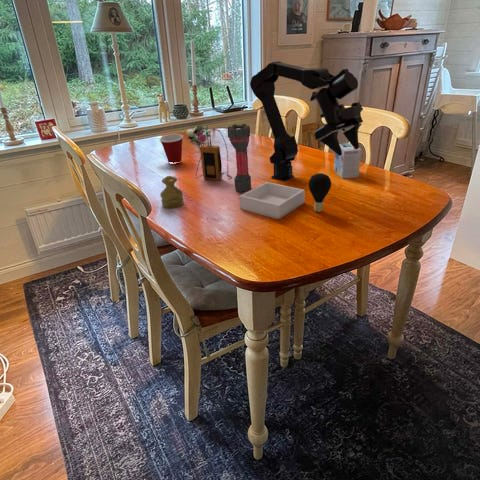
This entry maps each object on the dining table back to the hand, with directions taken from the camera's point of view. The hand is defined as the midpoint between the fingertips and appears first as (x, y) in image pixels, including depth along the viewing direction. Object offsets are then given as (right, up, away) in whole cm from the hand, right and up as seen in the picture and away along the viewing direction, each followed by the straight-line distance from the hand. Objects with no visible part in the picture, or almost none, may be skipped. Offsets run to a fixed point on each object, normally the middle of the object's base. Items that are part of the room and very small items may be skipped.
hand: (349, 151), depth 116 cm
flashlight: (-34, -10, +17) cm, 39 cm away
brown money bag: (-58, -16, +8) cm, 61 cm away
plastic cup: (-65, +7, +52) cm, 84 cm away
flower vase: (-58, +25, +83) cm, 104 cm away
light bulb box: (+6, -2, +26) cm, 27 cm away
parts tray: (-24, -17, +2) cm, 30 cm away
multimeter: (-44, -2, +32) cm, 55 cm away
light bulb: (-11, -19, -3) cm, 22 cm away
